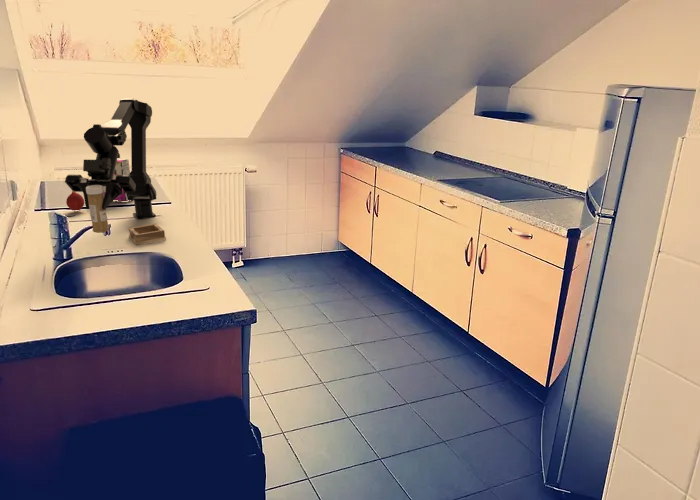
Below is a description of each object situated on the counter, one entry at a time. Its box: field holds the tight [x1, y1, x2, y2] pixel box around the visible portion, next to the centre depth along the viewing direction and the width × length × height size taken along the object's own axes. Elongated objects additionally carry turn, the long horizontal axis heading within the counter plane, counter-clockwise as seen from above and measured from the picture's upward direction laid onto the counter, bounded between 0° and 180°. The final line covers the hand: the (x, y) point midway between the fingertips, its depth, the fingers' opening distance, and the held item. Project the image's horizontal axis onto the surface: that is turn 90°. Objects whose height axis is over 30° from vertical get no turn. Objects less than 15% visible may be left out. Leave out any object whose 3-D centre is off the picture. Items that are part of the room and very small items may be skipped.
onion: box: [65, 190, 85, 211], centre depth 205 cm, size 6×6×8 cm
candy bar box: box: [103, 157, 131, 201], centre depth 218 cm, size 11×5×16 cm, turn 77°
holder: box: [128, 223, 167, 246], centre depth 180 cm, size 9×9×3 cm
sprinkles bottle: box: [86, 185, 110, 234], centre depth 165 cm, size 5×5×14 cm
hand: (95, 208), depth 164 cm, fingers closed on sprinkles bottle, 4 cm apart
